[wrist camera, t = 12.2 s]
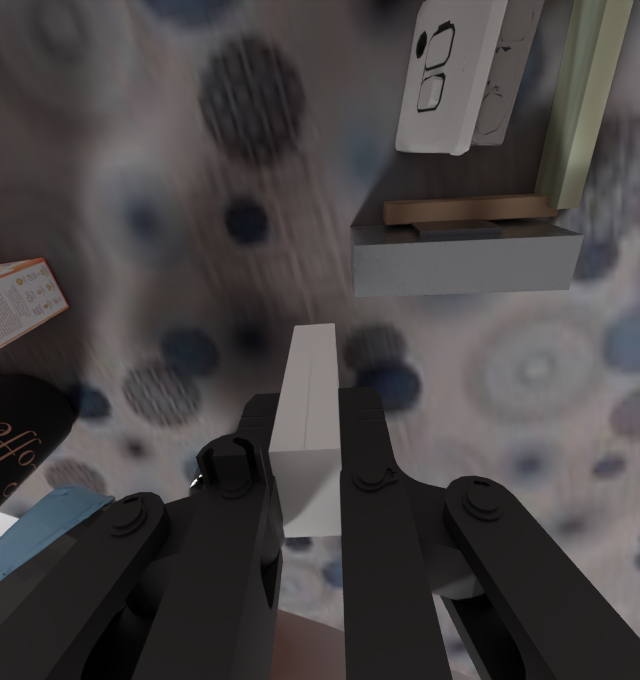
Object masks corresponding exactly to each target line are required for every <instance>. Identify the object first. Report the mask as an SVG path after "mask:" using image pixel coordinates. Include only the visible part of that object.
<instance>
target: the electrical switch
mask: <svg viewBox="0 0 640 680" xmlns="http://www.w3.org/2000/svg"><path fill="white" fill-rule="evenodd" d="M544 1H545V0H426V1H424V2H423V3H422V5H421V8H420V10H419V12H418V15H417V20H416V26H415V31H414V37H413V43H412V49H411V55H410V61H409V66H408V72H407V78H406V84H405V90H404V95H403V101H402V107H401V113H400V119H399V125H398V130H397V136H396V143H395V146H396V150H397V151H401V152H406V153H450V154H451V155H457V156H458V155H462V154H463V153H465V152H466V151H468V150H469V147H470V145H471V146H486V145H496V144H502V143H503V140H504V137H505V133H506V130H507V126H508V123H509V120H510V116H511V113H512V110H513V106H514V103H515V99H516V96H517V93H518V89H519V86H520V83H521V79H522V76H523V72H524V69H525V66H526V62H527V59H528V56H529V52H530V49H531V45H532V42H533V39H534V35H535V32H536V29H537V25H538V22H539V18H540V15H541V12H542V8H543V5H544ZM533 13H534V16H533ZM524 36H525V37H524ZM523 37H524V38H523ZM501 47H510V48H511V49H509V50H508V51H506V52H505V51H504V50H503V49H502V48H501ZM496 50H497V53H496ZM488 81H489V82H488ZM488 83H489V85H488ZM495 86H498V87H499V88H494V87H495ZM497 94H500V95H501V96H499V95H497ZM485 96H487V97H486V98H485V99H484V100H482V99H483V98H484V97H485ZM505 115H506V116H505ZM504 116H505V117H504ZM475 126H476V127H477V128H478V129H479V130H478V129H477V128H476V127H475ZM493 131H494V132H493ZM490 132H492V133H490ZM490 143H493V144H490Z"/></svg>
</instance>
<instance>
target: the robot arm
mask: <svg viewBox="0 0 640 680" xmlns="http://www.w3.org/2000/svg"><path fill="white" fill-rule="evenodd" d="M196 459H197V462H198V465H199V467H198V468H197V470H196V472H195V475H194V477H193V479H192V481H191V484H190V488H189V495H188V497H186V498H183V499H179V500H176V501H173V502H170V503H167V504H164V503H163V501H162V499H161V498H160V496H159V495H156V494H154V493H152V492H139V493H136V494H132V495H129V496H126V497H124V498H123V499H121V500H119V501H116V500H114V499H115V497H114V496H112V495H111V496H106V495H103V494H101V493H99V492H96V491H94V490H92V489H89V488H87V487H84V486H82V485H79V484H68V485H64V486H61V487H59V488H57V489H55V490H53V491H52V492H50V493H49V494H48V495H46V496H45V497H44V498H42V499H41V500H40V501H39V502H38V503H37V504H36V505H34V506H33V507H32V508H31V509H30V510H29V511H28V512H26V513H25V514H24V515H23V516H22V517H21V518H20V519H19V520H18V521H17V522H16V523H15V524H14V525H13V526H11V527H10V528H9V529H8V530H7V531H6V532H5V533H4V534H3V535H2V536H1V537H0V680H270V672H271V663H272V654H273V645H274V636H275V627H276V618H277V609H278V600H279V591H280V582H281V573H282V564H283V558H282V550H281V548H282V545H283V543H284V541H285V539H286V537H310V536H337V535H341V541H342V570H343V599H344V628H345V656H346V680H453V679H452V676H451V671H450V667H449V663H448V659H447V655H446V650H445V646H444V642H443V638H442V634H441V630H440V626H439V622H438V617H437V613H436V609H435V605H434V601H433V597H432V593H435V594H438V595H440V597H441V599H442V601H443V603H444V605H445V607H446V609H447V611H448V613H449V615H450V617H451V619H452V621H453V623H454V625H455V627H456V629H457V631H458V633H459V635H460V637H461V639H462V641H463V643H464V645H465V648H466V650H467V652H468V654H469V656H470V658H471V660H472V662H473V664H474V666H475V668H476V670H477V672H478V674H479V676H480V678H481V680H640V638H639V637H638V636H637V635H636V634H635V632H634V631H633V630H632V629H631V628H630V627H629V626H628V624H627V623H626V622H625V621H624V620H623V619H622V618H621V616H620V615H619V614H618V613H617V612H616V611H615V610H614V608H613V607H612V606H611V605H610V604H609V603H608V602H607V601H606V599H605V598H604V597H603V596H602V595H601V594H600V593H599V591H598V590H597V589H596V588H595V587H594V586H593V585H592V583H591V582H590V581H589V580H588V579H587V578H586V577H585V576H584V574H583V573H582V572H581V571H580V570H579V569H578V568H577V566H576V565H575V564H574V563H573V562H572V561H571V560H570V558H569V557H568V556H567V555H566V554H565V553H564V552H563V550H562V549H561V548H560V547H559V546H558V545H557V544H556V543H555V541H554V540H553V539H552V538H551V537H550V536H549V535H548V533H547V532H546V531H545V530H544V529H543V528H542V527H541V525H540V524H539V523H538V522H537V521H536V520H535V519H534V517H533V516H532V515H531V514H530V513H529V512H528V511H527V510H526V508H525V507H524V506H523V505H522V504H521V503H520V502H519V500H518V499H517V498H516V497H515V496H514V495H513V494H512V493H511V492H510V491H508V490H507V489H506V488H505V487H504V486H503V485H501V484H499V483H497V482H495V481H493V480H491V479H488V478H483V477H479V476H464V477H460V478H458V479H456V480H454V481H452V482H451V483H450V485H449V486H448V487H447V489H445V488H441V487H437V486H432V485H428V484H425V483H421V482H418V481H416V480H414V479H412V478H411V477H409V476H408V475H406V474H405V473H404V472H403V471H402V470H401V469H400V468H399V466H398V465H397V463H396V461H395V458H394V454H393V450H392V445H391V441H390V437H389V432H388V428H387V424H386V420H385V415H384V411H383V406H382V402H381V398H380V395H379V394H378V393H377V392H376V391H375V390H374V389H373V388H372V387H354V388H339V379H338V365H337V351H336V337H335V323H329V324H315V325H300V326H295V327H294V332H293V337H292V342H291V346H290V351H289V356H288V361H287V365H286V370H285V375H284V380H283V385H282V389H281V393H273V394H256V395H255V396H254V397H253V398H252V399H251V400H250V401H249V402H248V403H247V404H246V405H245V408H244V411H243V414H242V419H241V420H240V423H239V425H238V429H237V431H236V433H235V434H229V435H224V436H221V437H219V438H217V439H215V440H212V441H211V442H210V443H208V444H207V445H206V446H204V447H203V448H202V449H201V451H200V452H199V454H198V455H197V456H196ZM431 592H432V593H431Z"/></svg>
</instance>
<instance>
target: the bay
mask: <svg viewBox="0 0 640 680" xmlns="http://www.w3.org/2000/svg"><path fill="white" fill-rule="evenodd" d="M633 1H634V0H574V3H573V8H572V13H571V18H570V22H569V27H568V32H567V37H566V42H565V46H564V51H563V56H562V61H561V66H560V71H559V75H558V80H557V85H556V90H555V95H554V99H553V104H552V109H551V114H550V119H549V123H548V128H547V133H546V138H545V143H544V148H543V152H542V157H541V162H540V167H539V172H538V176H537V181H536V186H535V191H534V193H531V194H512V195H494V196H476V197H457V198H439V199H420V200H402V201H384V205H383V221H384V222H385V223H386V225H394V224H410V222H429V221H449V220H469V219H485V220H493V219H513V218H533V217H553V216H557V215H558V211H559V209H570V208H578V207H579V204H580V200H581V196H582V192H583V189H584V185H585V181H586V177H587V174H588V170H589V166H590V162H591V159H592V155H593V151H594V147H595V144H596V140H597V136H598V132H599V129H600V125H601V121H602V117H603V114H604V110H605V106H606V102H607V99H608V95H609V91H610V87H611V84H612V80H613V76H614V72H615V69H616V65H617V61H618V57H619V54H620V50H621V46H622V42H623V38H624V35H625V31H626V27H627V23H628V20H629V16H630V12H631V8H632V5H633Z"/></svg>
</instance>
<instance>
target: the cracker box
mask: <svg viewBox="0 0 640 680" xmlns="http://www.w3.org/2000/svg"><path fill="white" fill-rule="evenodd" d="M68 308H69V305H68V303H67V301H66V299H65V297H64V295H63V293H62V291H61V289H60V287H59V285H58V284H57V282H56V280H55V278H54V276H53V274H52V272H51V270H50V268H49V266H48V264H47V262H46V260H45V259H44V258H36V259H29V260H23V261H17V262H10V263H4V264H0V348H2V347H4V346H5V345H7V344H9V343H10V342H12V341H14V340H15V339H17V338H19V337H20V336H22V335H24V334H25V333H27V332H29V331H30V330H32V329H34V328H36V327H37V326H39V325H41V324H42V323H44V322H46V321H47V320H49V319H50V318H52V317H54V316H56V315H57V314H59V313H61V312H63V311H64V310H66V309H68Z"/></svg>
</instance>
